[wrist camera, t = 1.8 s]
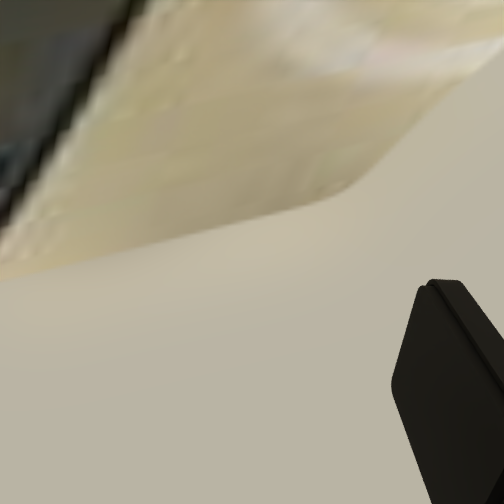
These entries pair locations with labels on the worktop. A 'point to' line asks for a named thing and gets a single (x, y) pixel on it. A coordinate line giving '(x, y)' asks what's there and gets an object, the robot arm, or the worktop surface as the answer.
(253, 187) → the worktop surface
